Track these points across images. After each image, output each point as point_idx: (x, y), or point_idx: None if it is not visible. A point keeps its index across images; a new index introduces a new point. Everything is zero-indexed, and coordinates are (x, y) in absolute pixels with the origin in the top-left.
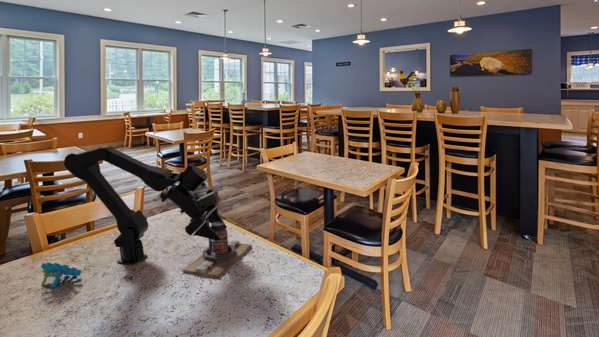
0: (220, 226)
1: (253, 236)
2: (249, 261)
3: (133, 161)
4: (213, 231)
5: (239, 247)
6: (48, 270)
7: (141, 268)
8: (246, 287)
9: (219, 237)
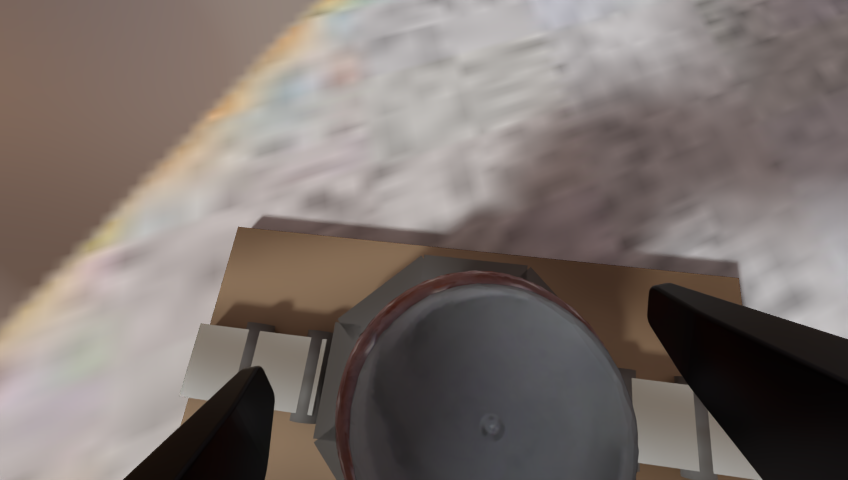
0: (561, 313)
1: (52, 284)
2: (456, 175)
3: None
4: (833, 346)
5: (286, 298)
6: None
7: None
8: (741, 93)
9: (672, 288)
